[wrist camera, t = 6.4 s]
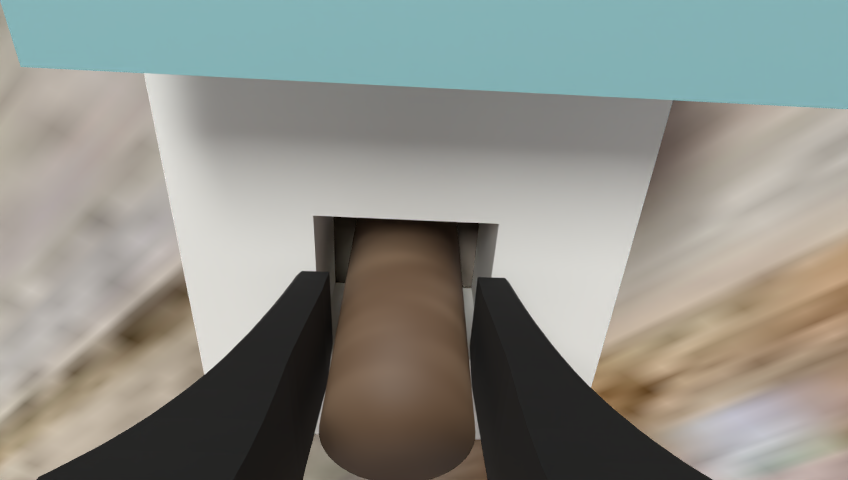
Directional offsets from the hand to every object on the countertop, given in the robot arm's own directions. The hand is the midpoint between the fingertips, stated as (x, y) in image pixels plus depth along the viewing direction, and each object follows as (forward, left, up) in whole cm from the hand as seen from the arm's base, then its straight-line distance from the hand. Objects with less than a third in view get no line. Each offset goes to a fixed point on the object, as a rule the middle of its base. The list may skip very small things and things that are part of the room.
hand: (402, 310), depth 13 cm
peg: (0, 0, -4) cm, 4 cm away
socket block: (0, 0, -4) cm, 4 cm away
